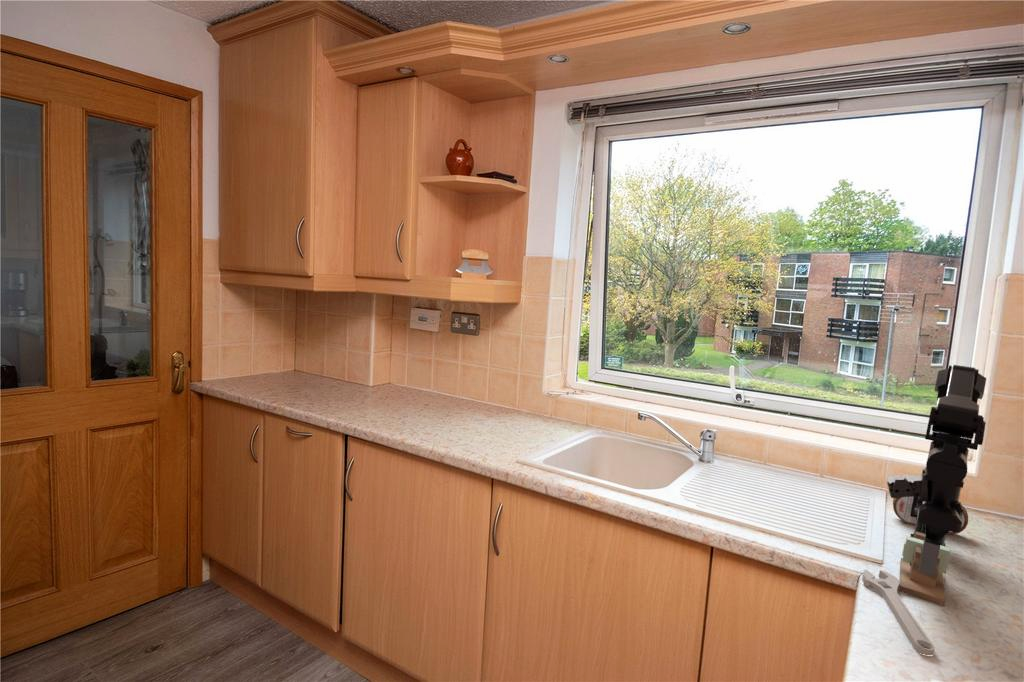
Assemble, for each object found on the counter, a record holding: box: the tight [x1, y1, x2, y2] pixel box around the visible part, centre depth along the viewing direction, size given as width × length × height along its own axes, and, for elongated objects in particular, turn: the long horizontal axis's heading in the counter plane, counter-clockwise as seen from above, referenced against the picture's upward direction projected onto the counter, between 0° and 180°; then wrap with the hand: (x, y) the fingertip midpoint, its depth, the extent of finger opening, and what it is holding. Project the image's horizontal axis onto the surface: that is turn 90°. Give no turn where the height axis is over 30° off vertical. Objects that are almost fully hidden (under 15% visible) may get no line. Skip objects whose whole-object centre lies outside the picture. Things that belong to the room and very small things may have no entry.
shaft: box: [918, 538, 940, 576], centre depth 111 cm, size 11×2×6 cm, turn 145°
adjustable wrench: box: [861, 569, 936, 656], centre depth 103 cm, size 25×6×2 cm, turn 160°
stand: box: [898, 532, 947, 607], centre depth 113 cm, size 14×7×8 cm, turn 145°
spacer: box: [901, 535, 951, 574], centre depth 114 cm, size 2×7×5 cm, turn 55°
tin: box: [892, 497, 969, 535], centre depth 140 cm, size 15×3×8 cm, turn 56°
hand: (929, 547), depth 110 cm, fingers closed
